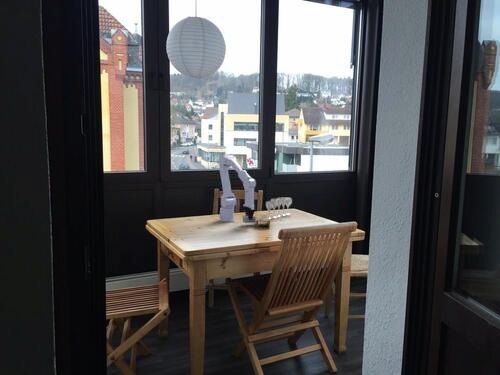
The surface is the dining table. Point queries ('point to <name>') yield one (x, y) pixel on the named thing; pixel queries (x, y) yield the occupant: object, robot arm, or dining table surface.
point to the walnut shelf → (262, 219)
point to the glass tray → (246, 220)
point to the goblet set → (278, 204)
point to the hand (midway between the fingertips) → (249, 218)
